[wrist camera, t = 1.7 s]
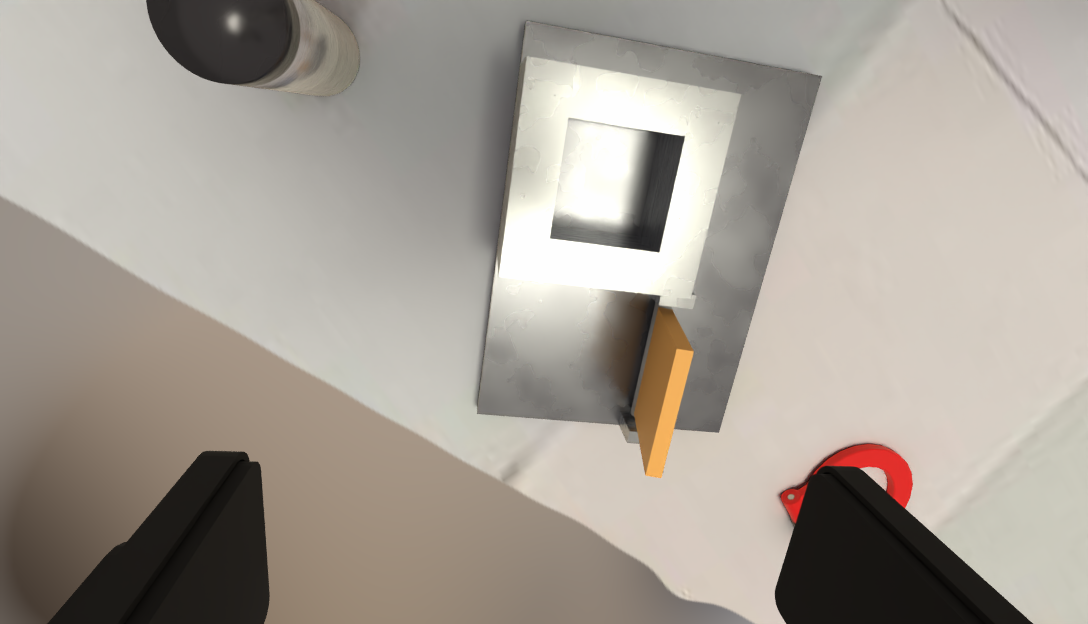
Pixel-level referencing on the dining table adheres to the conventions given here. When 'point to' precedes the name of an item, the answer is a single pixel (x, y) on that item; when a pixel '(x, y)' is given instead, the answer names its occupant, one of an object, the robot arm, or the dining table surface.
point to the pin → (259, 43)
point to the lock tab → (660, 387)
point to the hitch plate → (633, 221)
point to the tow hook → (860, 458)
